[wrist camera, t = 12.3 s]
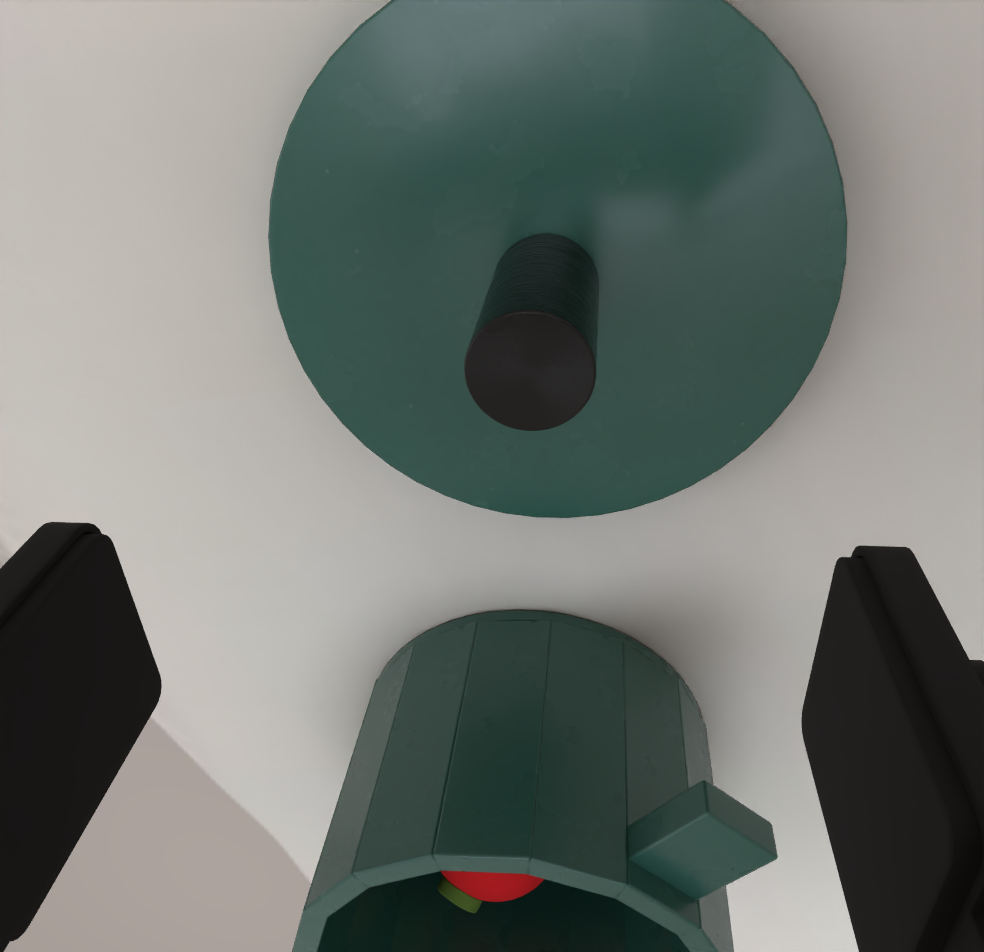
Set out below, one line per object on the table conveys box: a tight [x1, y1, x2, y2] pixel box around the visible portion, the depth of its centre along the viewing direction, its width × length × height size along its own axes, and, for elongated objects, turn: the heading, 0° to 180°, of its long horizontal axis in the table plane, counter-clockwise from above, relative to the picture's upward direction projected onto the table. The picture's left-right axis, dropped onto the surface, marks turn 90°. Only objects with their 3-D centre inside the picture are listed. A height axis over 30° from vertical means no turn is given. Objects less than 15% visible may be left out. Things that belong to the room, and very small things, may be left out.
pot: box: [292, 610, 778, 952], centre depth 27 cm, size 12×18×9 cm
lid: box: [268, 0, 847, 518], centre depth 19 cm, size 14×14×6 cm
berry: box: [437, 871, 544, 913], centre depth 29 cm, size 5×5×5 cm
